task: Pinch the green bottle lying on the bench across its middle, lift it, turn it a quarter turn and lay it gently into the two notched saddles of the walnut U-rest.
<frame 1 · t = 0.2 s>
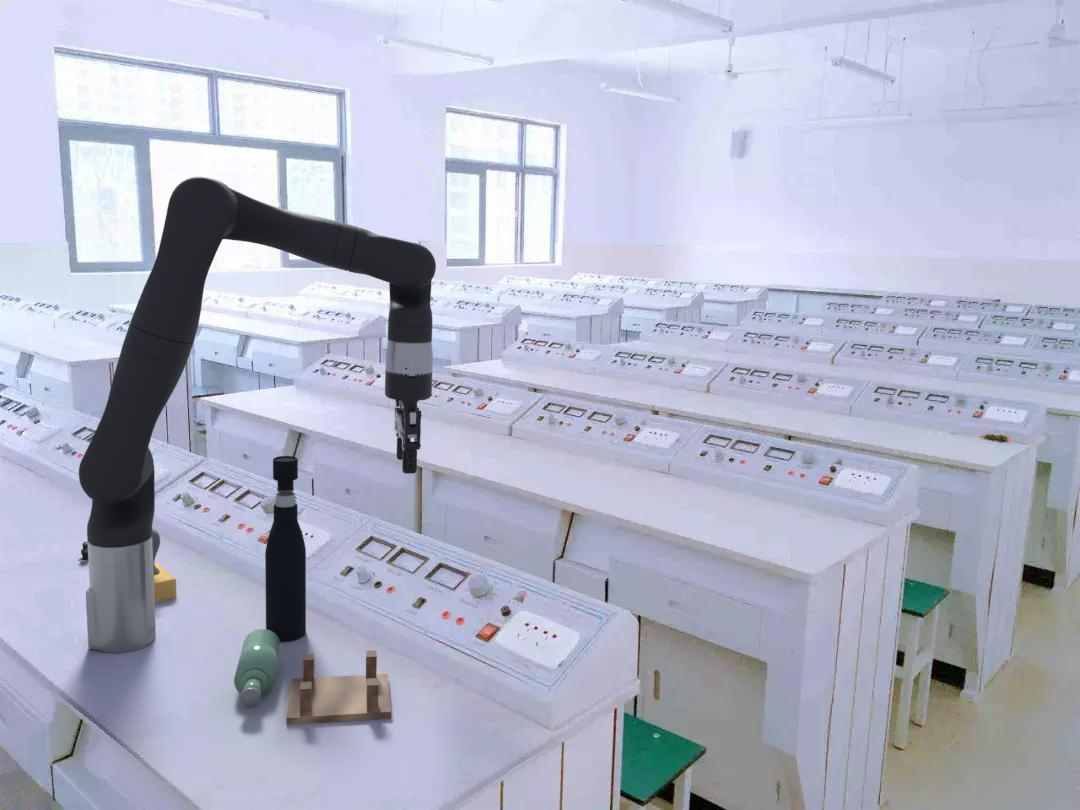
hand: (406, 465, 147), 29 cm above the workbench, tool pointing down, fingers open, 8 cm apart
green bottle: (258, 679, 134), on the workbench
sculpture: (89, 561, 177), on the workbench
rubber stamp: (151, 593, 163), on the workbench
wine bottle: (286, 634, 149), on the workbench
u rest: (339, 701, 128), on the workbench
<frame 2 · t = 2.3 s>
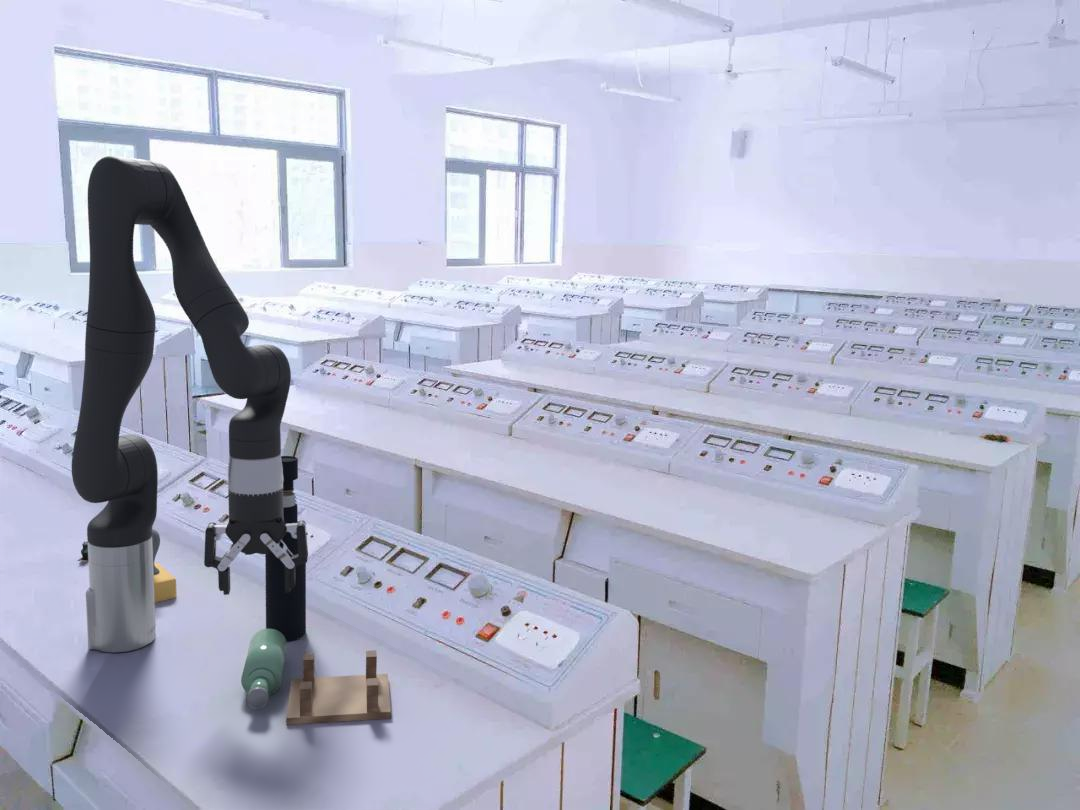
hand: (257, 591, 131), 14 cm above the workbench, tool pointing down, fingers open, 8 cm apart
green bottle: (258, 678, 134), on the workbench, tilted 21°
everything else where it was.
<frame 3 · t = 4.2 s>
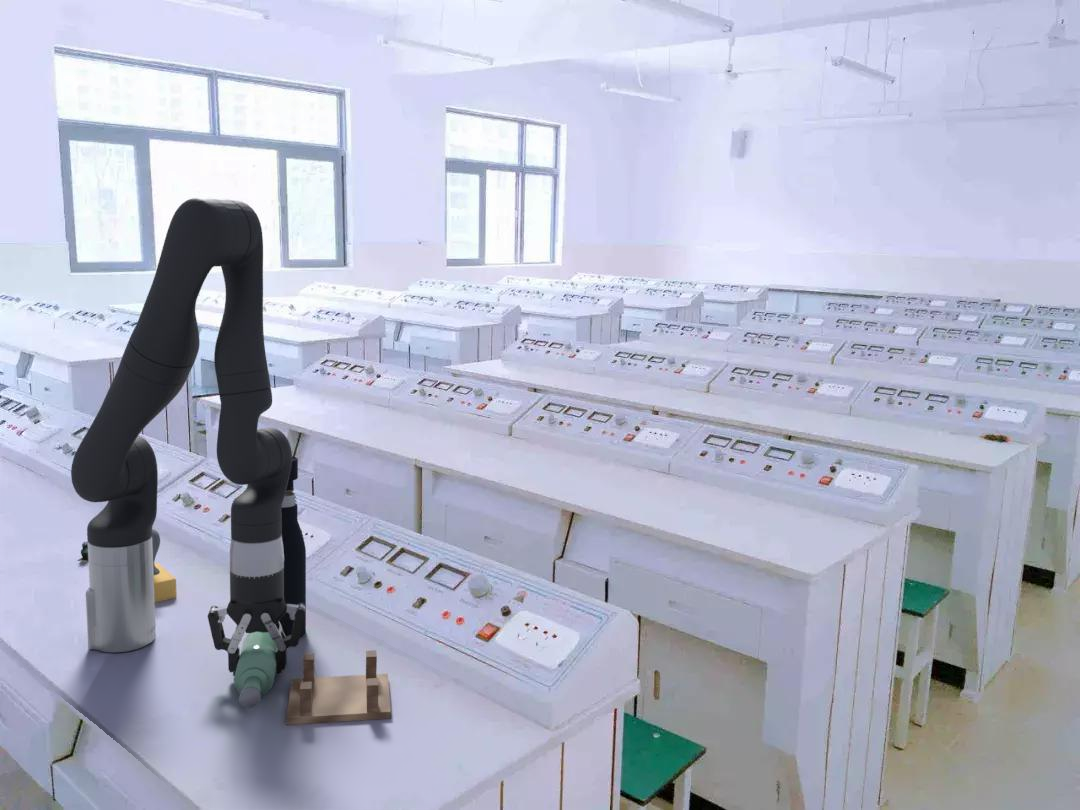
hand: (258, 672, 133), 1 cm above the workbench, tool pointing down, fingers closed on green bottle, 5 cm apart
green bottle: (257, 678, 134), on the workbench, touching gripper
everything else where it was.
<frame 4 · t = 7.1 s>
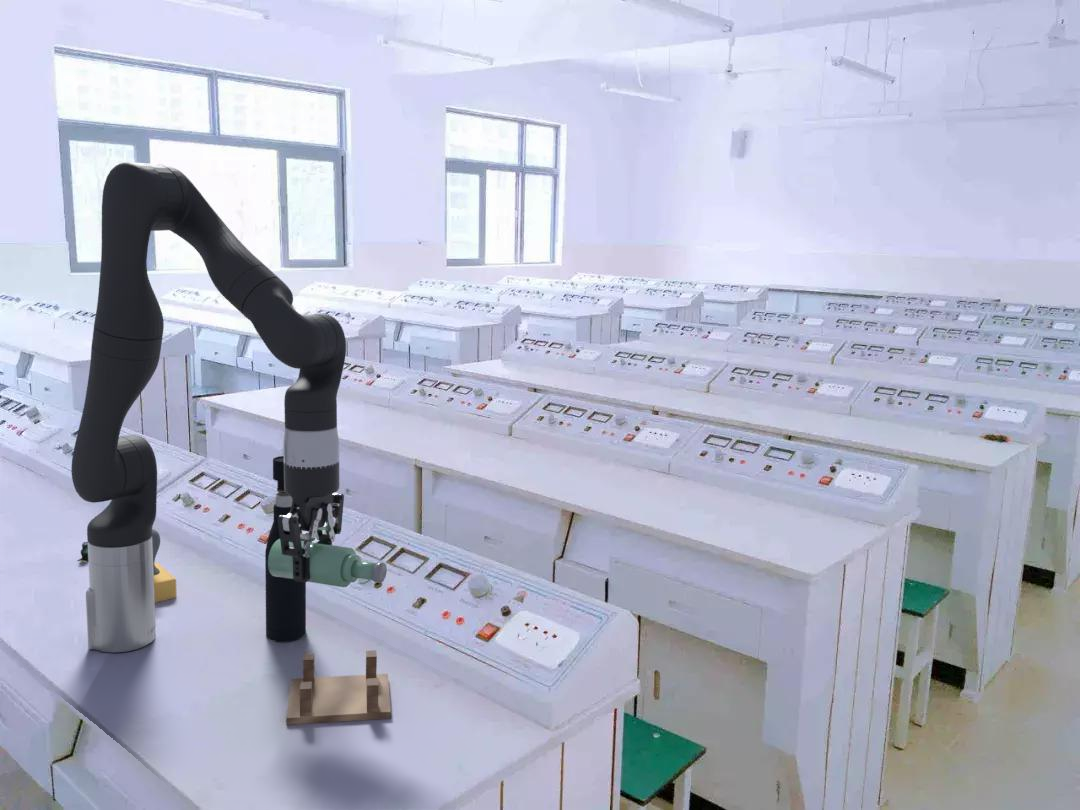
hand: (313, 573, 127), 18 cm above the workbench, tool pointing down, fingers closed on green bottle, 5 cm apart
green bottle: (312, 580, 127), point 17 cm above the workbench, touching gripper
everything else where it was.
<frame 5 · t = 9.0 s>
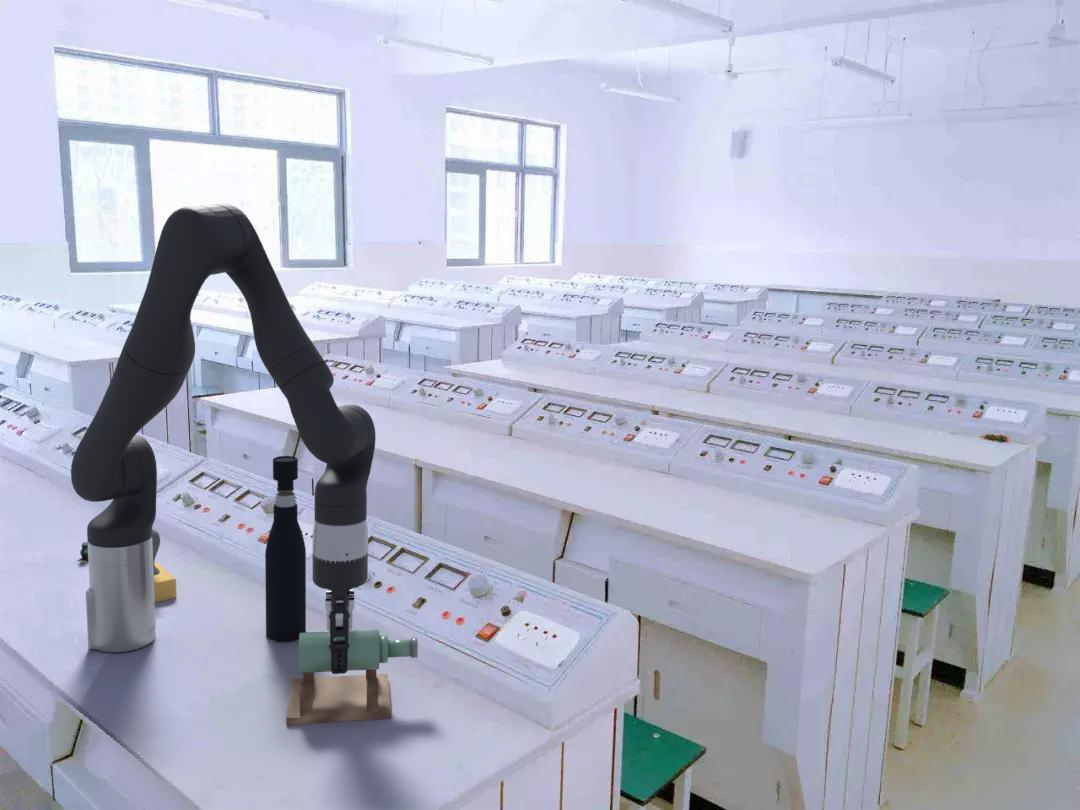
hand: (339, 661, 127), 6 cm above the workbench, tool pointing down, fingers closed on green bottle, 5 cm apart
green bottle: (339, 669, 127), point 5 cm above the workbench, touching gripper
everything else where it was.
when the fingers open (4 cm above the workbench, at t = 10.3 s): green bottle stays where it is, resting on u rest.
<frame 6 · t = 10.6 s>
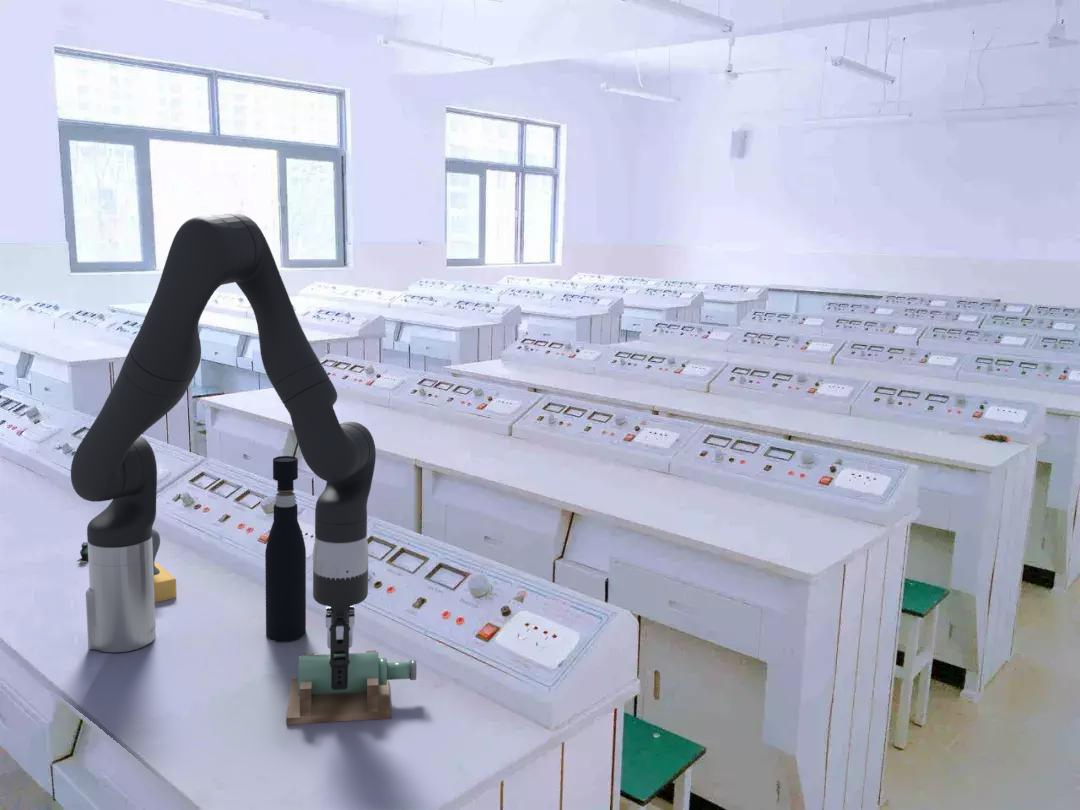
hand: (339, 674, 128), 4 cm above the workbench, tool pointing down, fingers open, 7 cm apart
green bottle: (338, 691, 128), point 2 cm above the workbench, touching u rest
everything else where it was.
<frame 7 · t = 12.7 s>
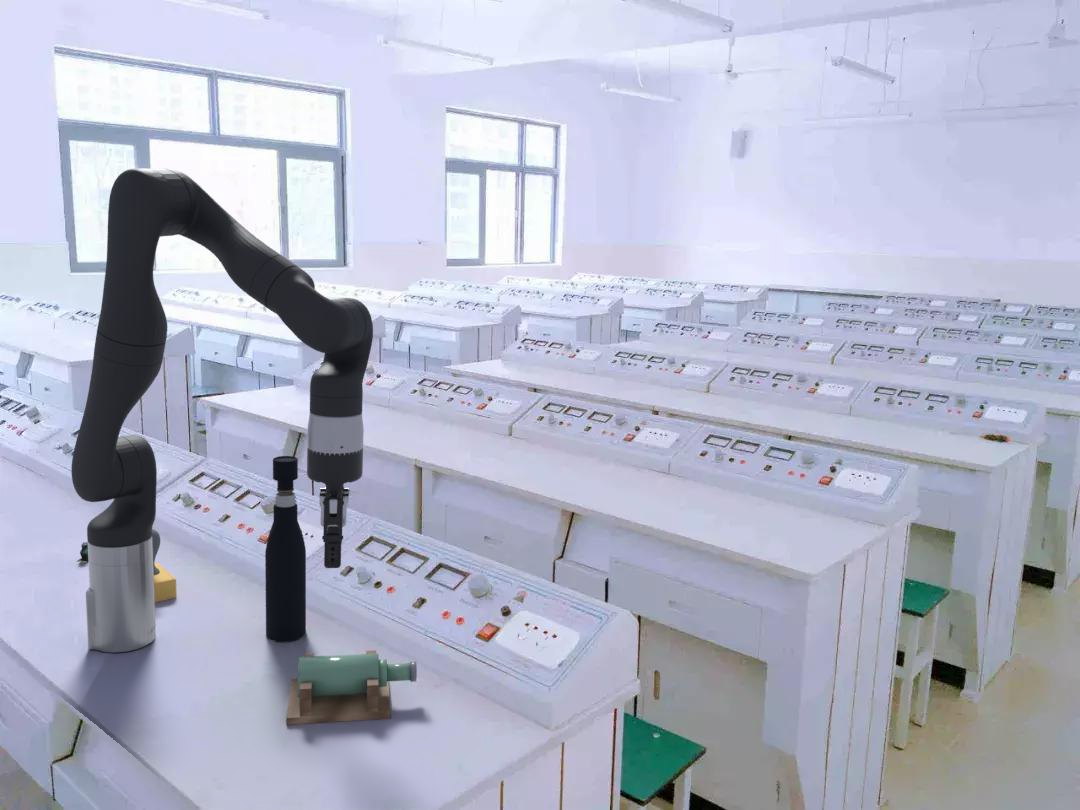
hand: (333, 555, 126), 21 cm above the workbench, tool pointing down, fingers open, 8 cm apart
green bottle: (338, 691, 128), point 2 cm above the workbench, tilted 8°, touching u rest
everything else where it was.
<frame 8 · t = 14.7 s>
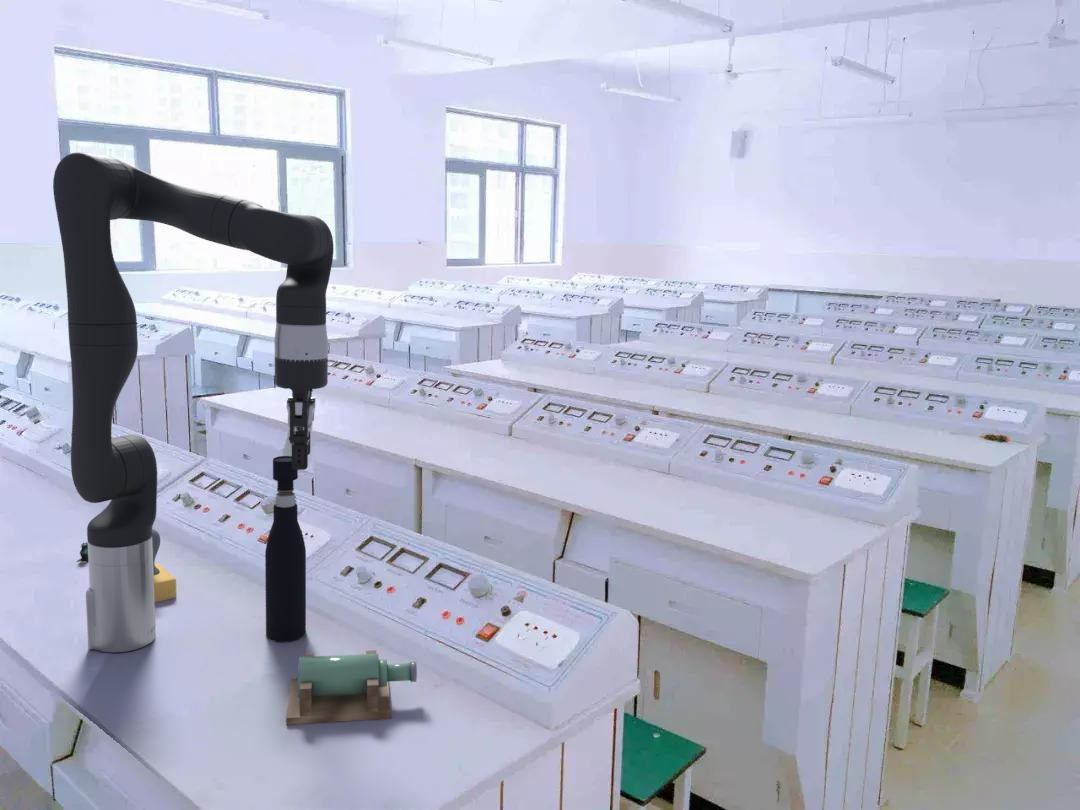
hand: (301, 461, 134), 32 cm above the workbench, tool pointing down, fingers open, 8 cm apart
nothing on the workbench moved.
at the end: green bottle 0.1 cm off-centre on the u rest, point 1.5 cm above the u rest's base; the gripper is holding nothing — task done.
